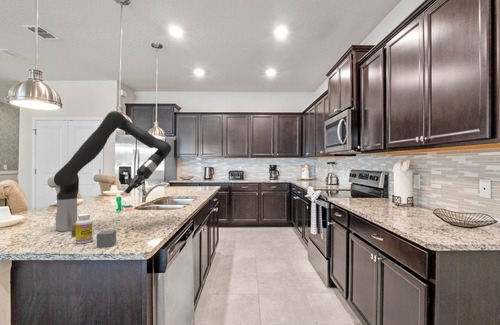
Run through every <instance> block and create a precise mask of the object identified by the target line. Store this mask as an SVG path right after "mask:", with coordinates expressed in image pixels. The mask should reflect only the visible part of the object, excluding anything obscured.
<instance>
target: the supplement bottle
mask: <svg viewBox="0 0 500 325" xmlns="http://www.w3.org/2000/svg"><path fill="white" fill-rule="evenodd" d="M90 217H91V214H90V213H81V214H77V221H76V237H75V243H76V244H82V245H83V244H87V243H91V242H92V241H93V220H92V219H91V218H90Z"/></svg>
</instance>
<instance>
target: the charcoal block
mask: <svg viewBox="0 0 500 325" xmlns="http://www.w3.org/2000/svg"><path fill="white" fill-rule="evenodd" d="M116 243H117V230H116V229H109V230H108V229H107V230H101V231H100V232H98V233H97V234H96V248H97V249H99V248H101V249H102V248H112V247H113V246H114V245H115V244H116Z"/></svg>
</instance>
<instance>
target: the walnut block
mask: <svg viewBox="0 0 500 325" xmlns="http://www.w3.org/2000/svg"><path fill="white" fill-rule="evenodd" d="M74 237H75V238H76V223H75V224H73V225H72V230H71V238H74Z"/></svg>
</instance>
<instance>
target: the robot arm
mask: <svg viewBox="0 0 500 325" xmlns="http://www.w3.org/2000/svg"><path fill="white" fill-rule="evenodd" d="M117 129H119V130H121V131H123V132H125V133H127V134H129V135H130V136H132V137H133V138H134V139H136V140H137V141H139V142H140V143H142V144H144V145H145V146H146V147H148V148H150V149H153V148H154V149H156V151H155V152H154V153H152V154H151V156H149V157H148V159H147V160H145V161H144V162H143V163H142V164H141V165H140V167H138V169H137V170H136V174H135V175H134V176H133V178H132V177H130V178H129V180H128V181H127V182H128V183H127V185H128V186H127V188H126V189H125V190H124V193H126V194H127V195H129V194H130V193H131V192H132V191H133V190H134V189H138V188H139V187H140V186H142V185H144V184H145V183H146V181H145V180H149V178H150V177H151V176H152V175H153V174H154V172H156V170H157V168H158V167H159V166H160V164H161V163H162V162H163V161H164V160H165V159H166V158H167V157H168V156H169V154H170V153H171V151H172V146H171V144H170V143H169V142H167V141H165V140H163V139H160V138H157V137H155V136H154V135H152V134H151V133H149V132H148V131H145V130H144V129H142V128H140V127H139V126H137V125H135V123H134V124H133V122H131V121H130V120H129V119H128V118H127V117H125V115H124V114H123V113H121V112H119V111H118V110H112V111H110V112H108V113H107V114H106V116H105V117H104V119H103V120H102V121H101V123H100V125H98V127H97V128H96V129H95V131H93V133H92V134H90V135H89V137H88V138H87V139H86V140H85V141H84V143H82V144H81V146H80V147H79V148H78V150H77V151H76V152H75V153H74V154H73V156H72V157H71V158H70V159H69V161H68V162H67V163H66V164H64V165H63V167H61V168H60V169H59V170H58V171H57V172H56V173H55V175H54V177H53V182H54V184H55V185H56V186H57V187H59V192H58V193H56V213H55V231H57V232H68V231H72V225H73V224H75V223H76V221H78V193H79V189H80V188H79V187H80V178H79V175H78V173H79V172H81V170H82V169H83V168H84V167H85V166H87V165H89V163H91V162H92V161H93V160H94V159H96V158H97V157H98V155H99V154H100V153H101V152H102V151H103V149H104V148H105V145H106V144H107V142H108V139H109V138H110V137H111V135H112V134H113V133H114V132H115V131H116V130H117Z"/></svg>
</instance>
